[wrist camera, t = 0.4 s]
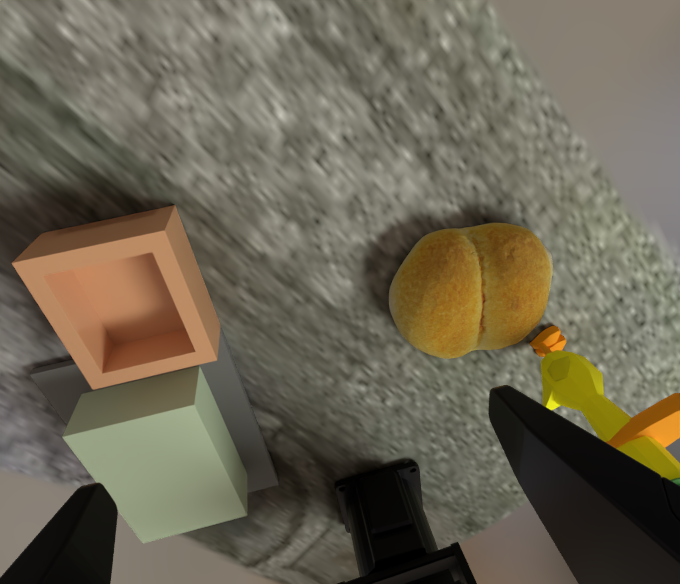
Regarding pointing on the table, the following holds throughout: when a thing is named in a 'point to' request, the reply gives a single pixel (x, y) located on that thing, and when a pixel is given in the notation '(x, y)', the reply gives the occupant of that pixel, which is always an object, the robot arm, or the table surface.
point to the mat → (226, 387)
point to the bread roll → (471, 289)
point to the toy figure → (608, 407)
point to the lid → (161, 453)
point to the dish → (123, 296)
